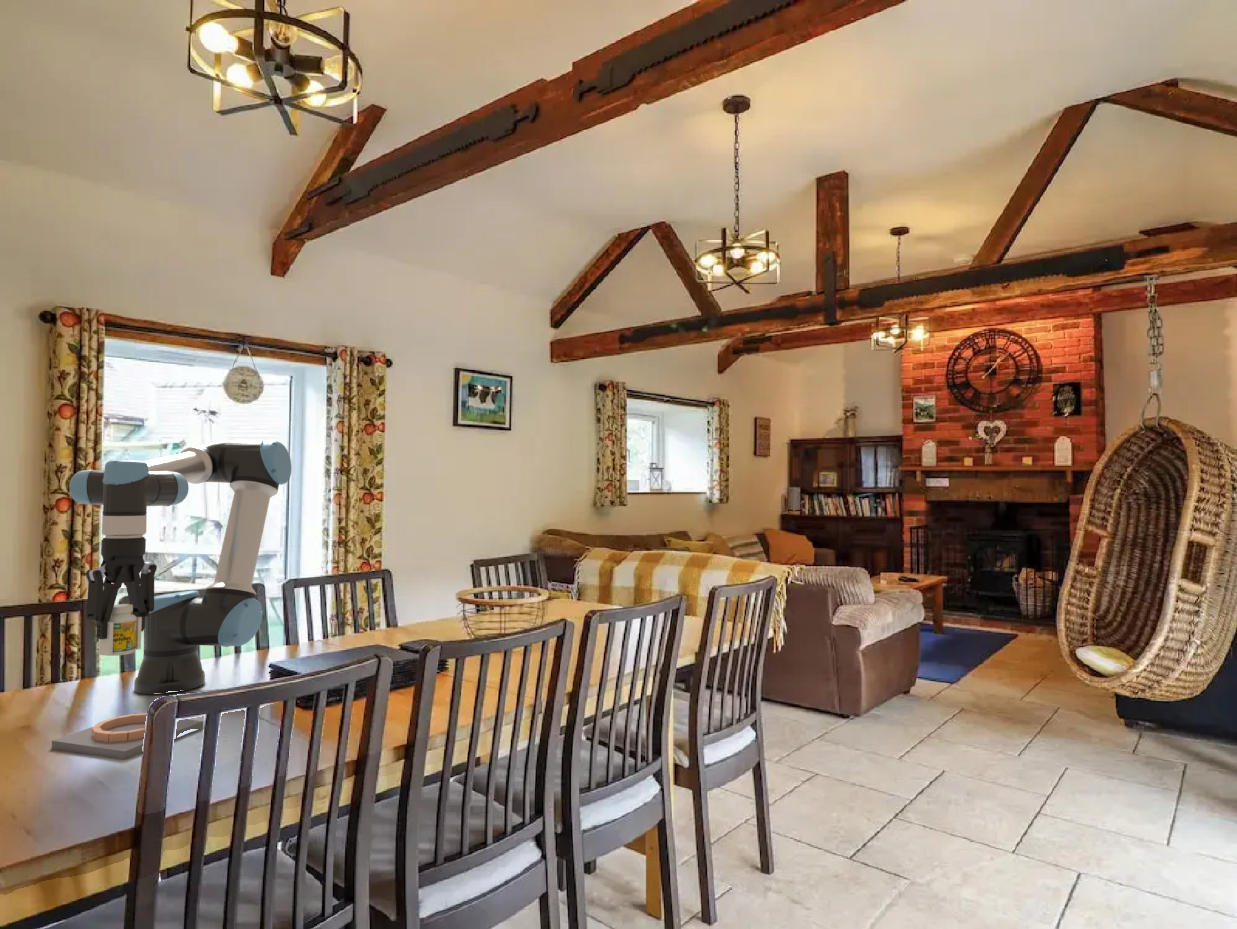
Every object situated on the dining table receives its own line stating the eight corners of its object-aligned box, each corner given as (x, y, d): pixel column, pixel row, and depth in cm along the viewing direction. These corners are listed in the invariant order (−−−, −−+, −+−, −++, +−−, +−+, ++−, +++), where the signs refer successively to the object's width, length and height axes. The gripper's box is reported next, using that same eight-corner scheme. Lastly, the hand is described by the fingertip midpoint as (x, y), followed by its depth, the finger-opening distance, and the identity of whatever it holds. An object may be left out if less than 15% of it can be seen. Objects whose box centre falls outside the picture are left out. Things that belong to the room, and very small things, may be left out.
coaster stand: (135, 719, 161) (135, 705, 161) (202, 728, 156) (203, 713, 156) (51, 748, 144) (52, 732, 144) (124, 759, 139) (125, 743, 139)
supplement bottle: (136, 649, 154) (137, 602, 154) (135, 654, 150) (136, 606, 150) (104, 651, 151) (106, 604, 152) (102, 657, 147) (104, 608, 147)
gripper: (150, 533, 161) (147, 641, 160) (64, 538, 144) (60, 660, 143) (177, 534, 159) (174, 644, 158) (93, 540, 141) (89, 663, 141)
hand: (120, 651), depth 151 cm, fingers closed on supplement bottle, 5 cm apart
